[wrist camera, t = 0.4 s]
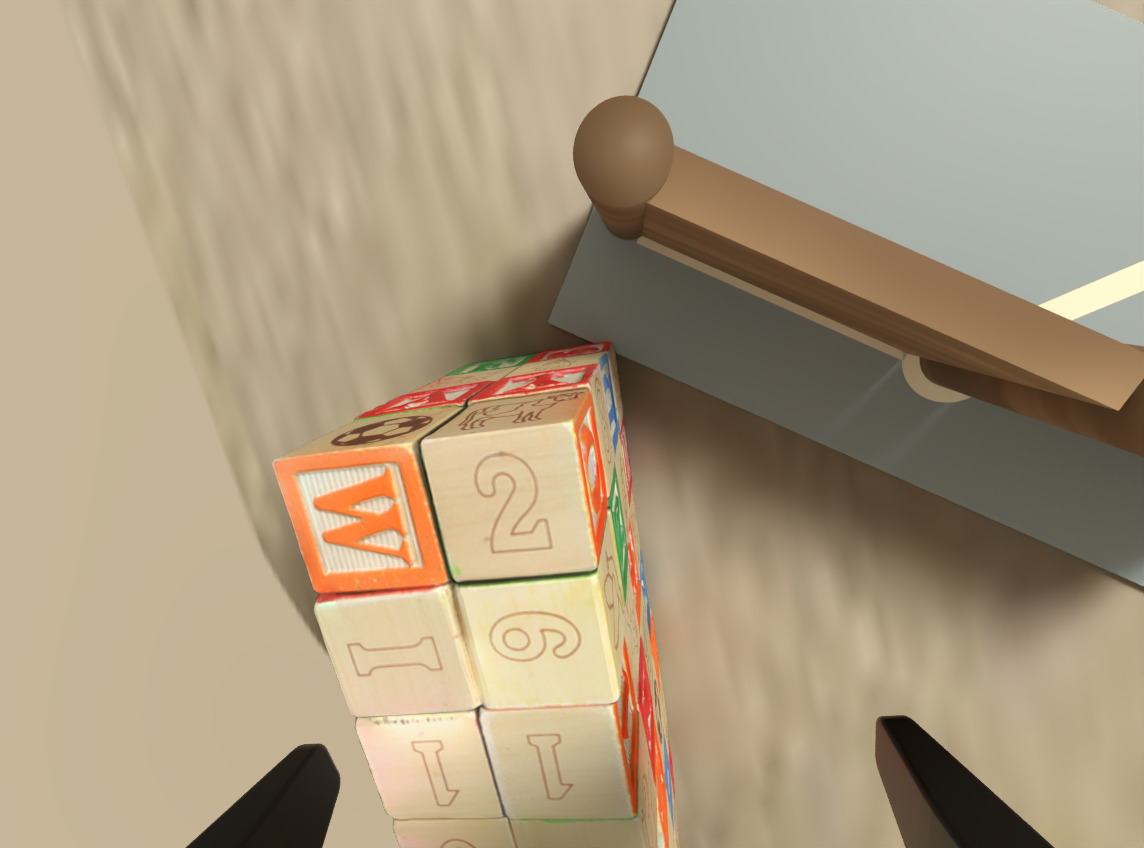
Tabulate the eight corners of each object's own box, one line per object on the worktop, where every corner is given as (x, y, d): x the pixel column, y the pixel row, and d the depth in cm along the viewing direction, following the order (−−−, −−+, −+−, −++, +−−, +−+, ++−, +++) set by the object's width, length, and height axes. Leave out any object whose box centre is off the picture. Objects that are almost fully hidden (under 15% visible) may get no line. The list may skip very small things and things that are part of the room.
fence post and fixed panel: (963, 396, 20) (1240, 495, 11) (592, 232, 20) (554, 192, 11) (1003, 338, 19) (1335, 391, 10) (617, 168, 19) (601, 67, 10)
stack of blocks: (676, 762, 26) (704, 1159, 14) (554, 764, 27) (488, 1136, 16) (613, 336, 21) (574, 418, 9) (464, 359, 22) (257, 460, 10)
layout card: (1204, 612, 21) (1212, 617, 21) (548, 322, 21) (547, 322, 21) (1575, 221, 17) (1593, 220, 16) (737, -148, 17) (739, -157, 16)
